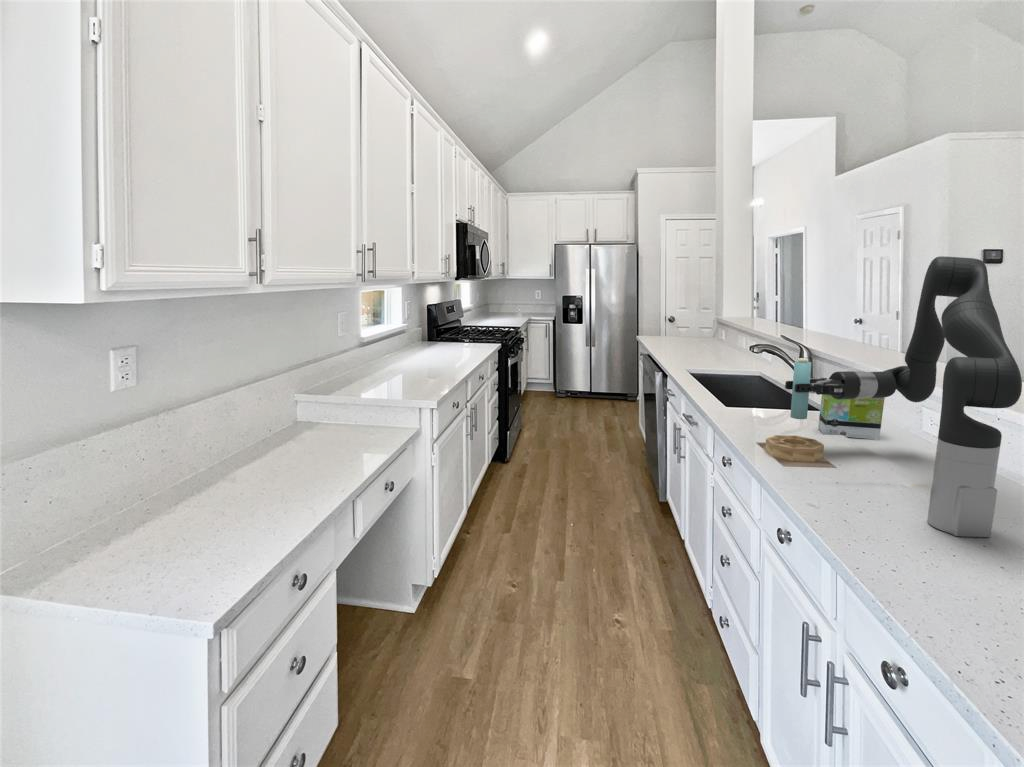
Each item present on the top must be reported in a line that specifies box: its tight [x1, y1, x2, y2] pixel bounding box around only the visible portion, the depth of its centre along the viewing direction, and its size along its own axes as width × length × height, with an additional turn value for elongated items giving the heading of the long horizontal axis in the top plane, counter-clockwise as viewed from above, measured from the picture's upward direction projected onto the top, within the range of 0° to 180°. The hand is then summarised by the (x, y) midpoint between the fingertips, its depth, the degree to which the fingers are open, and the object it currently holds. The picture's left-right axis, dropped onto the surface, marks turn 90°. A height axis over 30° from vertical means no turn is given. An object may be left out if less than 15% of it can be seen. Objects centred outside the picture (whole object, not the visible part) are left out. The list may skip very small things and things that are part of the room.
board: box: [755, 441, 838, 469], centre depth 152 cm, size 22×13×1 cm, turn 174°
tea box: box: [818, 394, 886, 440], centre depth 174 cm, size 15×10×15 cm, turn 73°
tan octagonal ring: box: [764, 434, 825, 462], centre depth 152 cm, size 13×13×4 cm
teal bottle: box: [790, 357, 812, 420], centre depth 149 cm, size 4×4×16 cm
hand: (791, 386), depth 149 cm, fingers closed on teal bottle, 4 cm apart
